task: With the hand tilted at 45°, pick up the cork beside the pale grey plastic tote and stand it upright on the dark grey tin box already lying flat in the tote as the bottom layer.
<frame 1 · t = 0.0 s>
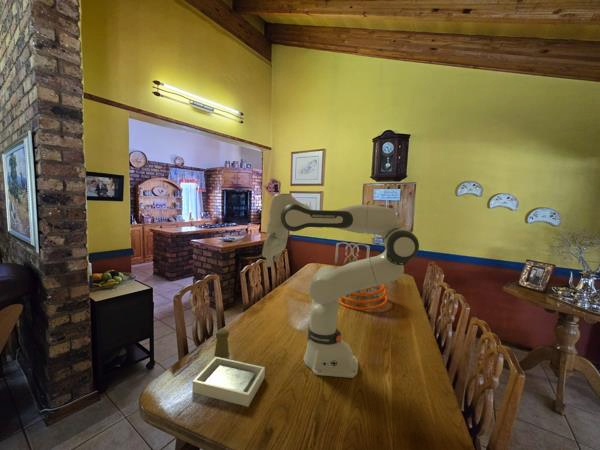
hand: (272, 263, 110), 39 cm above the table, tool pointing down, fingers open, 8 cm apart
tote: (230, 387, 91), on the table
tin box: (230, 384, 90), point 1 cm above the table, touching tote
cork: (221, 356, 108), on the table
toy basket: (360, 301, 177), on the table
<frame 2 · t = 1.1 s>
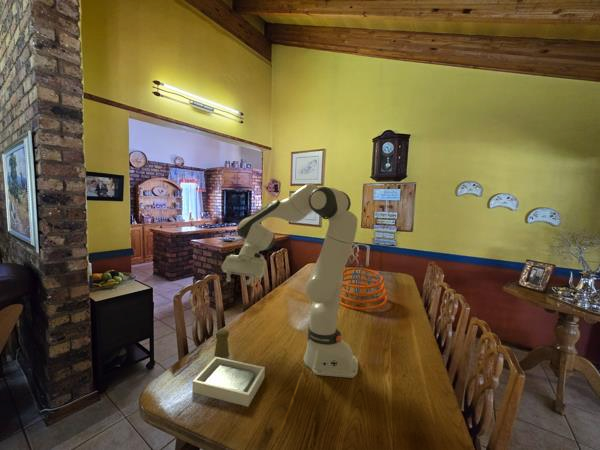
hand: (237, 282, 117), 28 cm above the table, tool tilted 45°, fingers open, 8 cm apart
nothing on the table moved.
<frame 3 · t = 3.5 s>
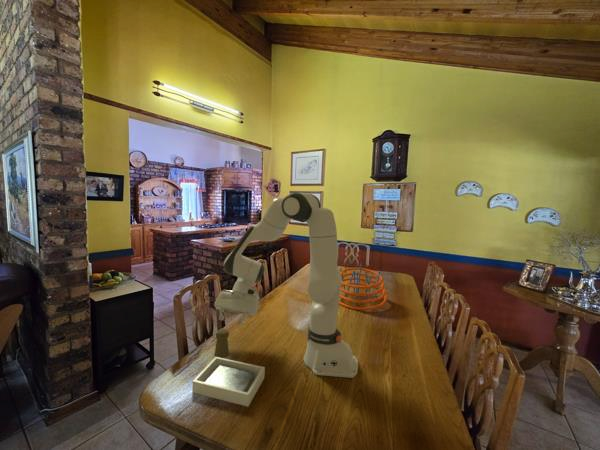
hand: (230, 321, 113), 12 cm above the table, tool tilted 45°, fingers open, 8 cm apart
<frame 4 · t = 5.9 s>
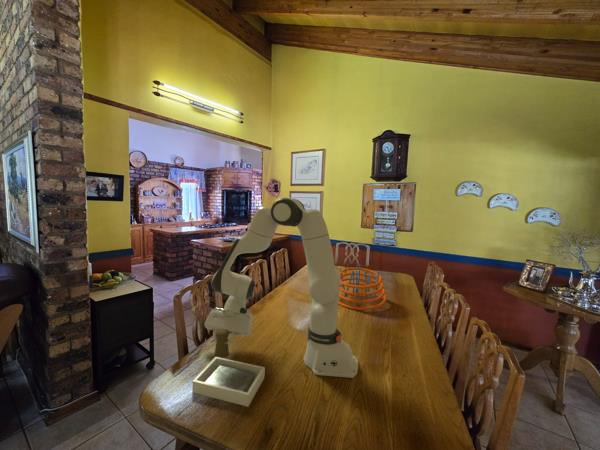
hand: (221, 343, 107), 6 cm above the table, tool tilted 45°, fingers closed on cork, 4 cm apart
cork: (221, 356, 108), on the table, touching gripper
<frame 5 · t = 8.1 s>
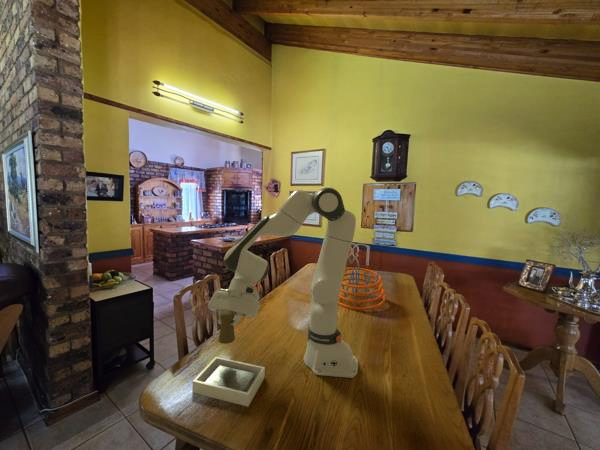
hand: (226, 324, 98), 18 cm above the table, tool tilted 45°, fingers closed on cork, 4 cm apart
cork: (226, 339, 100), point 11 cm above the table, touching gripper
when the fingers open (11 cm above the table, at t = 10.6 s): cork drops 1 cm, resting on tin box.
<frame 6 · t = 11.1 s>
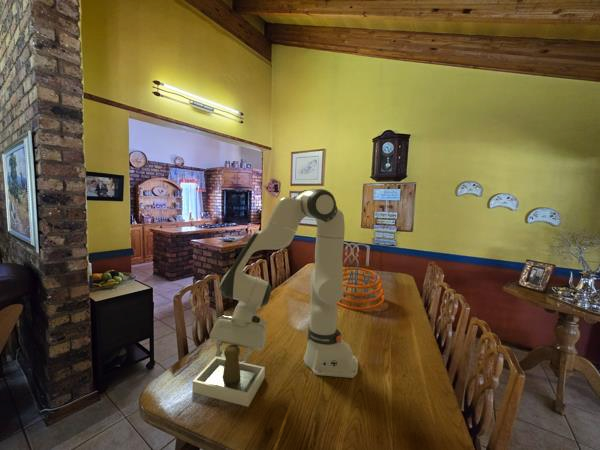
hand: (230, 358, 89), 11 cm above the table, tool tilted 45°, fingers open, 8 cm apart
tin box: (230, 384, 90), point 1 cm above the table, touching cork, tote
cork: (231, 377, 91), point 3 cm above the table, touching tin box
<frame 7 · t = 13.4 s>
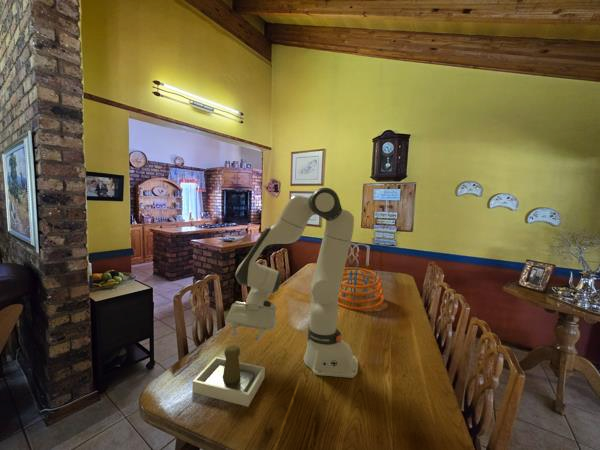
hand: (245, 338, 100), 12 cm above the table, tool tilted 45°, fingers open, 8 cm apart
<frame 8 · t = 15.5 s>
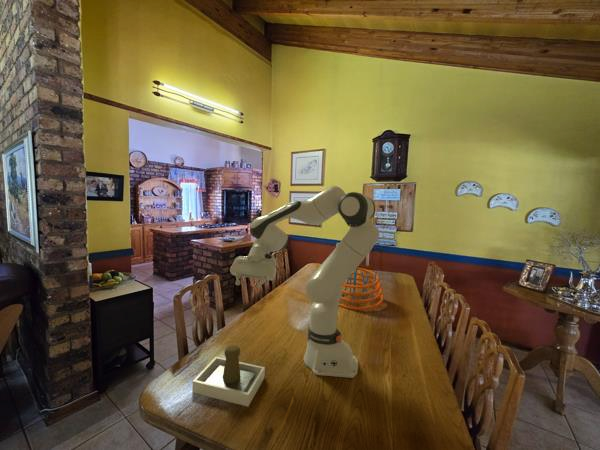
hand: (247, 286, 108), 29 cm above the table, tool tilted 45°, fingers open, 8 cm apart
at the end: cork inside the target area on the tote (0.5 cm from its centre), point 3.3 cm above the tote's base; cork tilted 0°; the gripper is holding nothing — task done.
